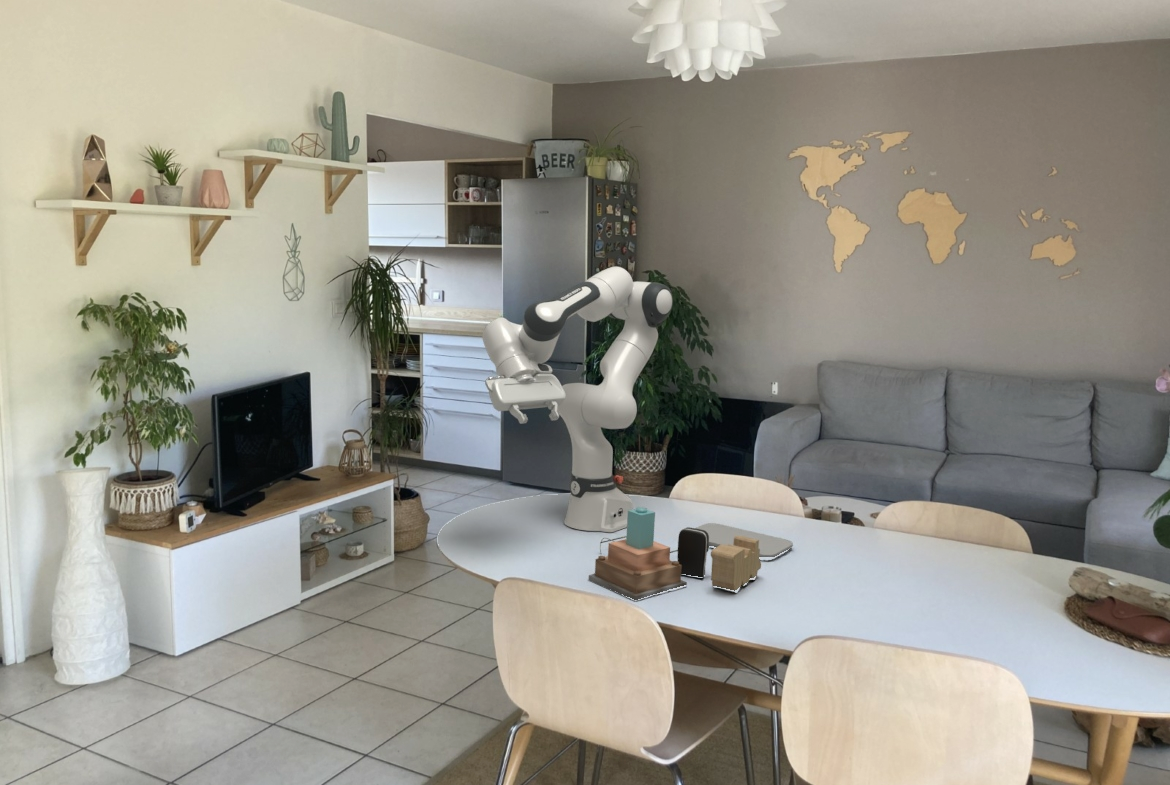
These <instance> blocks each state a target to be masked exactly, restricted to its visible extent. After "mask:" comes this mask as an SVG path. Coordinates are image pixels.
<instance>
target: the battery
mask: <svg viewBox="0 0 1170 785" xmlns="http://www.w3.org/2000/svg"><path fill="white" fill-rule="evenodd" d="M696 528H697V527H695V528H694V527H689V526H688V527H685V528H682V529H681V530H680V531H679V533H678V540H677V550H678V551H677V561H678V562H679V564H680V565H682V568H681V574H686V575H691V576H698V577H704V575H705V576H706V562H707V556H708V555H707V554H708V552H709V549H710V548H709V535H708V533H707V532H706V531H705V530H701V529H696ZM704 578H705V577H704Z"/></svg>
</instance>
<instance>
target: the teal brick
mask: <svg viewBox="0 0 1170 785" xmlns="http://www.w3.org/2000/svg"><path fill="white" fill-rule="evenodd" d="M655 521H656V512H655V511H652V510H650V509H648V508H647V507H643V506H642V507H641V506H638V507H636V508H635V509H634V508H633V510H628V517H627V527H626V536H627V537H626V538H625V539H626V544H627V545H629V546H632V547H634V548H637V549H643V548H647V547H652V546H653V541H655V540H654V537H655Z"/></svg>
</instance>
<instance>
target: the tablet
mask: <svg viewBox="0 0 1170 785" xmlns="http://www.w3.org/2000/svg"><path fill="white" fill-rule="evenodd" d="M695 528H696V529H701V530H705V531H706V532H707V533H708V535H709V546H714V547H718V546H720V545H721V544H723V545H728V544H730V545H733V543H734V537H735V536H737V535H738V536H743V537H747V538H752V539H757V540H759V549H760V555H759V557H775V556H777V555H779V554H780V553H782V552H784V551H786V550H788V549H789V548H790V549H791V548H793V545H794V542H792V541H791V540H789V539H787V538H781V537H777V536H772V535H769V534H764V533H761V532H755V531H751V530H747V529H742V528H739V527H734V526H729V525H725V524H720V523H715V522H714V523H713V522H711V523H709V522H708V523H704V524H701V525H699V526H697V527H695Z"/></svg>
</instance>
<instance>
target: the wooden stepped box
mask: <svg viewBox="0 0 1170 785" xmlns="http://www.w3.org/2000/svg"><path fill="white" fill-rule="evenodd" d="M607 548H608V549H607V550H608V551H607V552H608V553H607V556H605V555H598V557H597V558H595V562H594V564H595V565H594V573H592V574H588V581H589V580H590V581H589V582H592V583H594V584H596V585H598V586H600V587H603V586H604V587H603V588H605V587H606V588H605V589H607V588H608V589H607V590H609V589H611V590H612V591H611V590H610V591H611V592H613V591H616V592H618V593H620V594H623V595H624V596H627V597H630V598H632V599H634V600H638V599H641V598H644V597H647V596H650V595H653V594H657V593H660V592H663V591H667V590H669V589H673V588H677V587H680V586H684V585H687V586H688V583H687V581H685V580H682V575H681V568H682V565H680V564H679V562H678V560H673V561H672V560H671V559H670V558H671V553H670V552H671V547H670V546H667V545H666V544H662V543H660V542H657V541H655V540H654V541H653V546H652V547H647V548H643V549H637V548H634V547H632V546H629V545H627V544H626V538H624V539H621V540H620V539H619V540H615V542H613V541H610V542H608V547H607ZM616 592H615V593H616ZM618 593H617V594H618ZM620 594H619V595H620ZM624 596H623V597H624ZM627 597H626V598H627Z"/></svg>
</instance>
